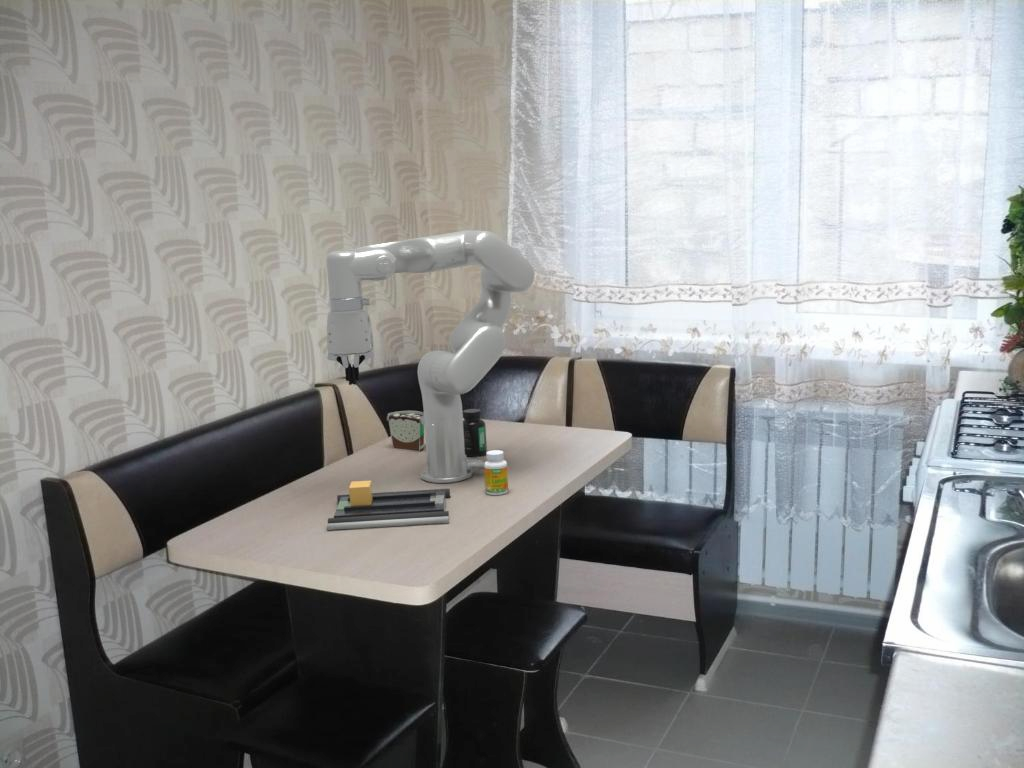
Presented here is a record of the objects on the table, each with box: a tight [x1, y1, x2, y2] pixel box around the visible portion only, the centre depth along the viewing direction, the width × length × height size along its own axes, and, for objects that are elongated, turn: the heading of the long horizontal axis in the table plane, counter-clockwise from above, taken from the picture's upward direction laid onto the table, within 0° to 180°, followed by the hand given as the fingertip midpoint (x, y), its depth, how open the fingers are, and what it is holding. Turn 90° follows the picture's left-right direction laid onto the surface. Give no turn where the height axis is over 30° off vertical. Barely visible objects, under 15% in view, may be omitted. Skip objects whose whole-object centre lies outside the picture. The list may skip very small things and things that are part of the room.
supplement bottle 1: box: [462, 408, 488, 458], centre depth 282 cm, size 7×7×12 cm
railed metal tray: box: [333, 491, 447, 518], centre depth 237 cm, size 24×14×3 cm, turn 92°
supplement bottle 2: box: [483, 449, 509, 496], centre depth 247 cm, size 5×5×10 cm
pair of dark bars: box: [326, 487, 451, 531], centre depth 237 cm, size 26×20×2 cm
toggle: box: [348, 480, 373, 506], centre depth 237 cm, size 4×5×4 cm
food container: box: [386, 410, 425, 453], centre depth 293 cm, size 12×6×10 cm, turn 58°
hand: (353, 383), depth 246 cm, fingers closed
